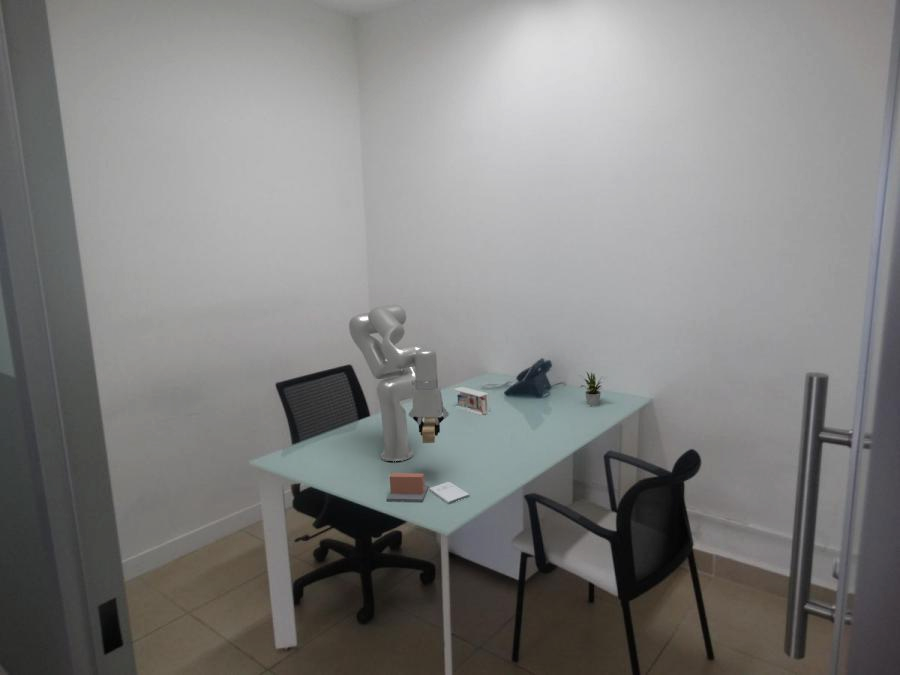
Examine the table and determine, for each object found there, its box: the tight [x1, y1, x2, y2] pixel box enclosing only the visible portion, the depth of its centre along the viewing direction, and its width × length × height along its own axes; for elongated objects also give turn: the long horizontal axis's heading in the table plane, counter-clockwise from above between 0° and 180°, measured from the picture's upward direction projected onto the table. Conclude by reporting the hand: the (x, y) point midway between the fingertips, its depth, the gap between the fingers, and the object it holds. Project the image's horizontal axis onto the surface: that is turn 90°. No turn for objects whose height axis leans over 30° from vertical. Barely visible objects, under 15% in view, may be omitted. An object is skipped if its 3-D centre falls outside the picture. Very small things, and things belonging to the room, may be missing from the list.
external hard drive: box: [428, 481, 471, 505], centre depth 188 cm, size 2×8×12 cm
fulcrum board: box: [386, 472, 430, 503], centre depth 189 cm, size 10×12×7 cm
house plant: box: [579, 371, 608, 407], centre depth 270 cm, size 14×14×16 cm
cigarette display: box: [453, 386, 490, 416], centre depth 272 cm, size 20×6×9 cm, turn 41°
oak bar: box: [421, 418, 436, 444], centre depth 198 cm, size 14×4×4 cm, turn 179°
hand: (429, 433), depth 199 cm, fingers closed on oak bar, 4 cm apart
